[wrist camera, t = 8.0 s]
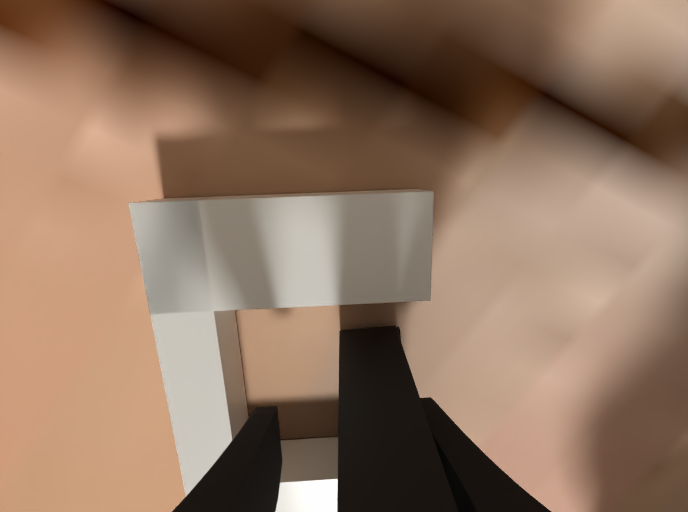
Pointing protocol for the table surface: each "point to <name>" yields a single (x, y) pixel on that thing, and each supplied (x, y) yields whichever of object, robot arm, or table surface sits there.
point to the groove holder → (267, 301)
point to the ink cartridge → (384, 431)
